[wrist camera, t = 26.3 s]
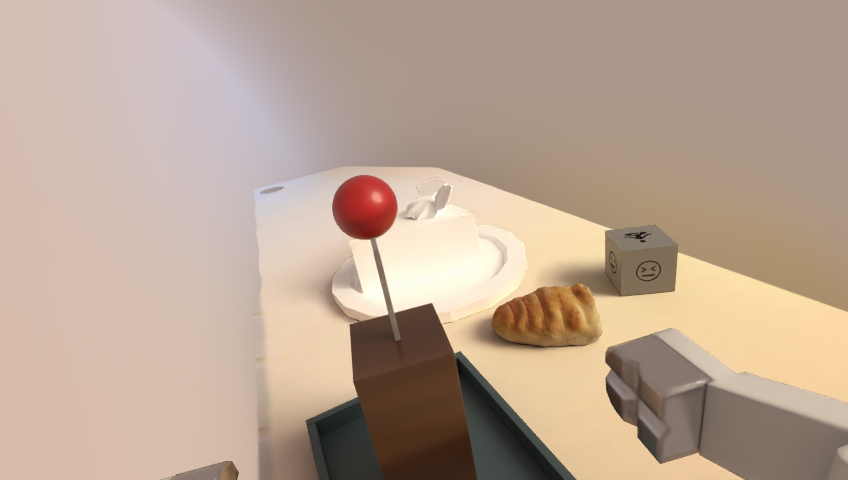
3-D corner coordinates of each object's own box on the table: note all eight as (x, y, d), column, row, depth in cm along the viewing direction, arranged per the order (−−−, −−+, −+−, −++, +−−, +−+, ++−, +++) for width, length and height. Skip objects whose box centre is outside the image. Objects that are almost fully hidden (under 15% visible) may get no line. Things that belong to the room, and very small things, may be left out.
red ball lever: (481, 502, 24) (422, 176, 17) (399, 529, 24) (297, 204, 16) (458, 435, 29) (402, 155, 21) (388, 456, 28) (305, 177, 21)
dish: (453, 218, 69) (442, 152, 65) (572, 265, 48) (568, 171, 44) (311, 273, 59) (287, 199, 55) (385, 361, 38) (356, 253, 34)
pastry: (498, 358, 36) (493, 322, 35) (489, 315, 42) (485, 282, 41) (608, 345, 35) (608, 307, 34) (583, 302, 41) (582, 269, 40)
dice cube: (653, 266, 45) (655, 224, 43) (674, 290, 40) (678, 244, 39) (605, 272, 46) (605, 230, 44) (620, 296, 41) (621, 251, 39)
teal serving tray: (613, 544, 22) (613, 520, 21) (377, 712, 18) (367, 689, 17) (463, 369, 36) (460, 350, 35) (312, 439, 32) (305, 420, 31)
